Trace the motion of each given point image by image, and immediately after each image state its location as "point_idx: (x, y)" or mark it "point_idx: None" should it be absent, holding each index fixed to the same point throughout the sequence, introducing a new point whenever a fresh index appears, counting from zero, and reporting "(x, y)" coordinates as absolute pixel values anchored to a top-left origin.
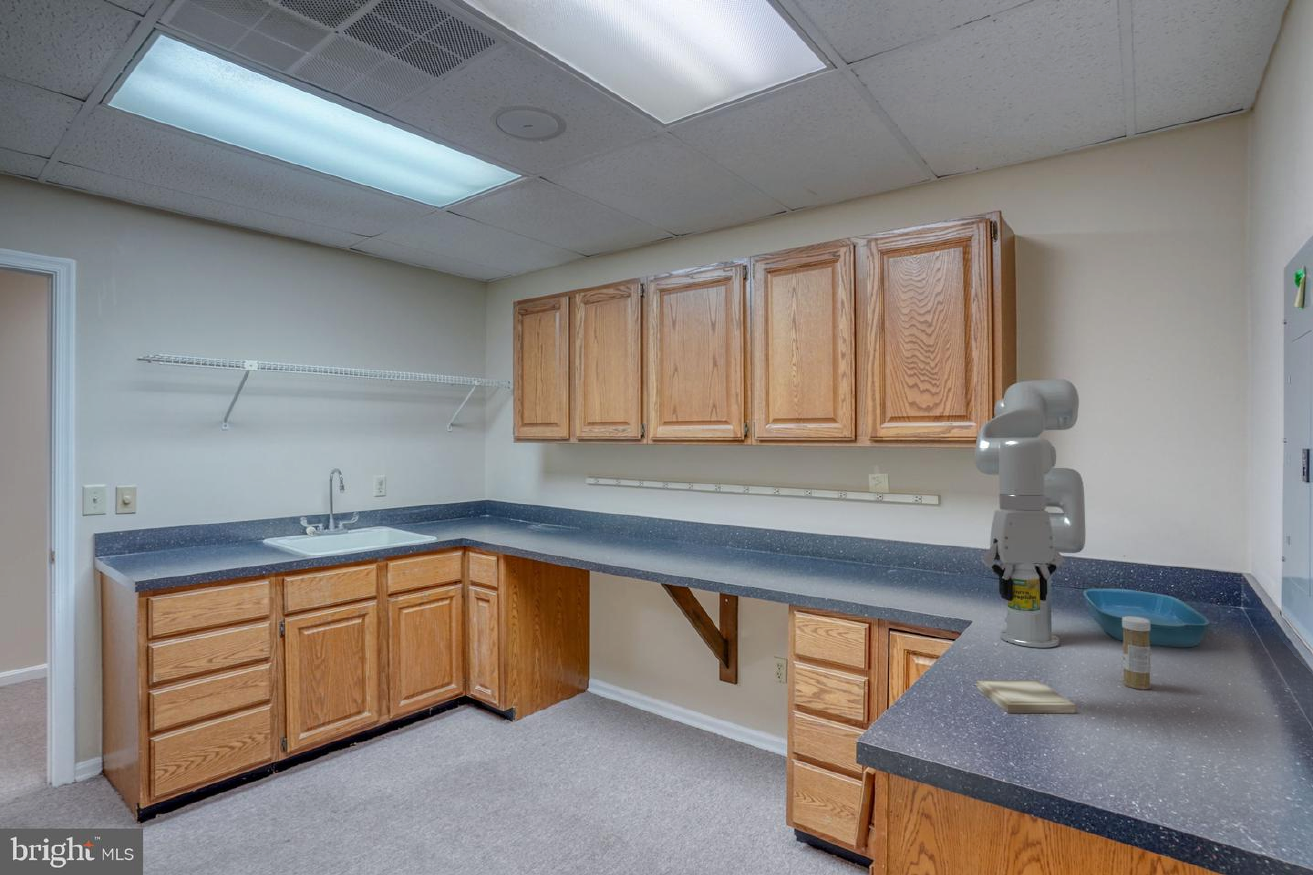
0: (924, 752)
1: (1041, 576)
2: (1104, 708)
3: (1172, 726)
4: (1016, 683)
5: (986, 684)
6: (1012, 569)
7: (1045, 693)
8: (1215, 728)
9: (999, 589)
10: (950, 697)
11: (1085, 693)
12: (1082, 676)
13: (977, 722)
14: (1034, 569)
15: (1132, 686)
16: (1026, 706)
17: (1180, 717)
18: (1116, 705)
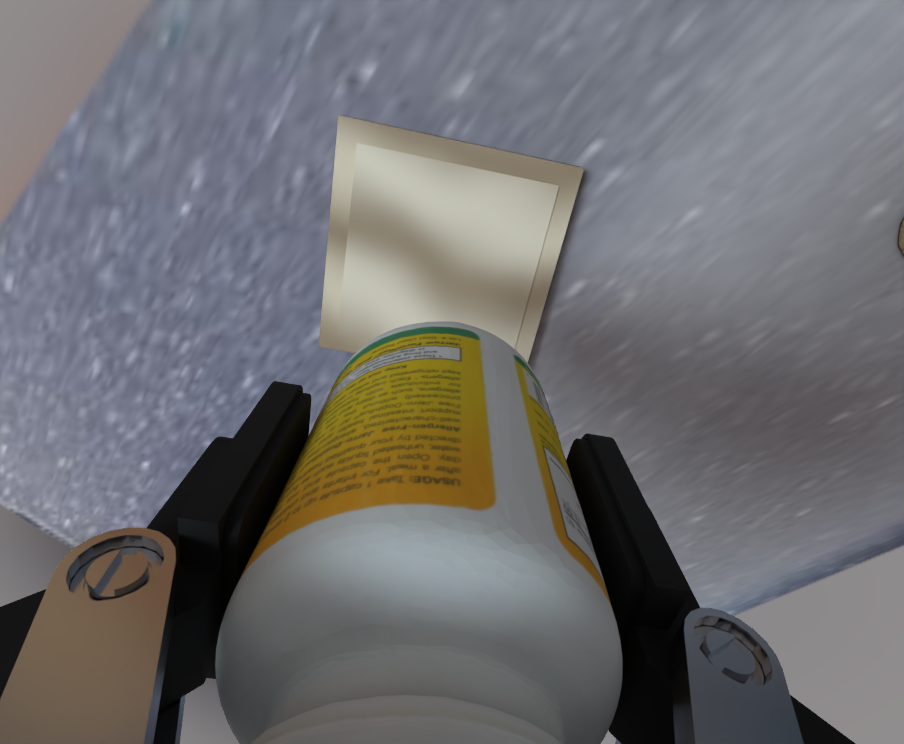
0: (8, 480)
1: (616, 725)
2: (631, 358)
3: (683, 473)
4: (470, 189)
5: (352, 168)
6: (266, 723)
7: (499, 298)
8: (767, 496)
9: (203, 459)
10: (198, 186)
11: (693, 246)
12: (870, 78)
13: (202, 373)
14: (689, 704)
15: (900, 242)
16: None
17: (763, 439)
18: (687, 347)
